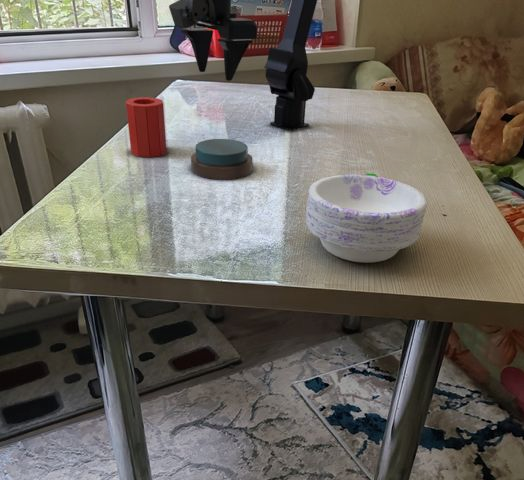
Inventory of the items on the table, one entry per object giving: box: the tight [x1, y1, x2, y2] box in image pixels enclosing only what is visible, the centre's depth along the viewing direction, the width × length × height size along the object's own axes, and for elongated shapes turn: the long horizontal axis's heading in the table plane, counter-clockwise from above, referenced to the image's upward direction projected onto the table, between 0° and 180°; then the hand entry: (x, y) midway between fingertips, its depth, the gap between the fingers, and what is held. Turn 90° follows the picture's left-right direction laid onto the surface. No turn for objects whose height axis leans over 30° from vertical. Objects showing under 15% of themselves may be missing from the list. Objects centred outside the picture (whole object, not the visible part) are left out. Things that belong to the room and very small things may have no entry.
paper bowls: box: [305, 174, 428, 264], centre depth 73 cm, size 15×15×8 cm
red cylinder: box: [125, 96, 167, 158], centre depth 102 cm, size 7×7×9 cm
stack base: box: [190, 138, 254, 181], centre depth 97 cm, size 11×11×4 cm
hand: (215, 76), depth 105 cm, fingers open, 9 cm apart
